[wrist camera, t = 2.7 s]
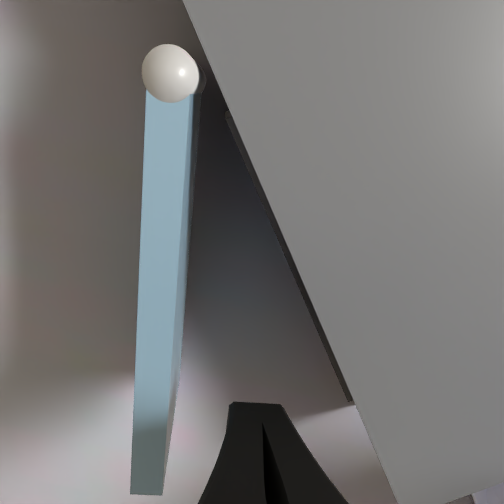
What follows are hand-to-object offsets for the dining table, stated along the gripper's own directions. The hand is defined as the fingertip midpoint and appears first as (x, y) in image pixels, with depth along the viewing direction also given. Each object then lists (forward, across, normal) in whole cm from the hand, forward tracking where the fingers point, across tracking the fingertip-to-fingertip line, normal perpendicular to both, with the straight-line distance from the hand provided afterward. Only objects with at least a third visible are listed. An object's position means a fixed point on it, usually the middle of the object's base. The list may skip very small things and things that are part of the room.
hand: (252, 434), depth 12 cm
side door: (+4, +2, -4) cm, 6 cm away
